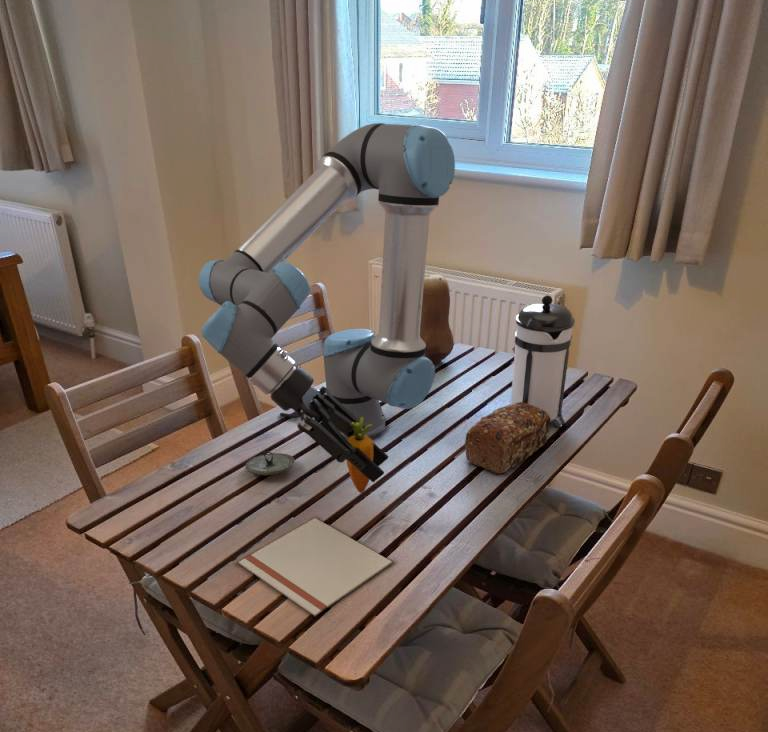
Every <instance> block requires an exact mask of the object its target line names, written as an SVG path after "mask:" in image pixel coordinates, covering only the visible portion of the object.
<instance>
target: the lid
mask: <svg viewBox="0 0 768 732" xmlns="http://www.w3.org/2000/svg"><path fill="white" fill-rule="evenodd" d="M295 461H296V459H295V457H294V456H292V455H290V454H288V453H281V452H271V451H270V450H267V451H264V452H263V454H261V455H257V456H254V457H252V458H250V459H249V460H247V462H246V463H245V470H246V471H247V472H248V473H250V474H253V475H258V476H272V475H276V474H279V473H283V472H285V471H287V470H289V469H290V468H291V467H292V466H294V464H295Z"/></svg>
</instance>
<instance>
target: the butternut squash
mask: <svg viewBox="0 0 768 732" xmlns="http://www.w3.org/2000/svg"><path fill="white" fill-rule="evenodd" d="M450 306H451V293H450V286H449V282H448V280H447V279H446V277H444V276H443V275H440V274H425V276H424V288H423V300H422V312H421V323H420V335H419V336H420V338H421V339H422V340H423V341H424V342H425V344H426V350H425V357H427V358H428V359H429V360H431V361H432V363H433V365H434V366H435V365H437V364H439V363H441V362H442V361H443V360H445V359H446V358H447V357H448V356H449V355H451V353H452V351H453V350H454V335H453V332H452V329H451V327H450V319H449V318H450V309H451V307H450Z"/></svg>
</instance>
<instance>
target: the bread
mask: <svg viewBox="0 0 768 732" xmlns="http://www.w3.org/2000/svg"><path fill="white" fill-rule="evenodd" d="M551 422H552V421H551V420H550V416H549V414H548V413H547V412H546V411H544V410H541V409H539V408H537V407H535V406H532V405H530V404H526V403H523V402H519V403H516V404H513V405H510V404H507V405H505V406H501V407H498V408H497V409H494V410H493V411H492V412H491V413H489V414H487V415H486V416H483V417H481V419H480V420H478V421H477V423H475V424H474V425H473V426H471V427H470V428H469V429H468V431H467V432H466V433H465V441H464V448H465V457H466V460H467V461H469V462H470V463H471V464H472V465H475V466H478V467H479V468H483V469H485V470H486V471H489V472H492V473H493V474H504V473H506V472H507V471H508V470H509V469H511V468H513V467H516V466H517V465H519V464H520V463H522V462H523V461H525V460H527V459H528V458H529V457H530V456H533V454H534V453H536V452H537V451H538V450H539V449H540V448H541V447H543V446H545V444H547V441H548V435H550V428H551Z"/></svg>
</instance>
